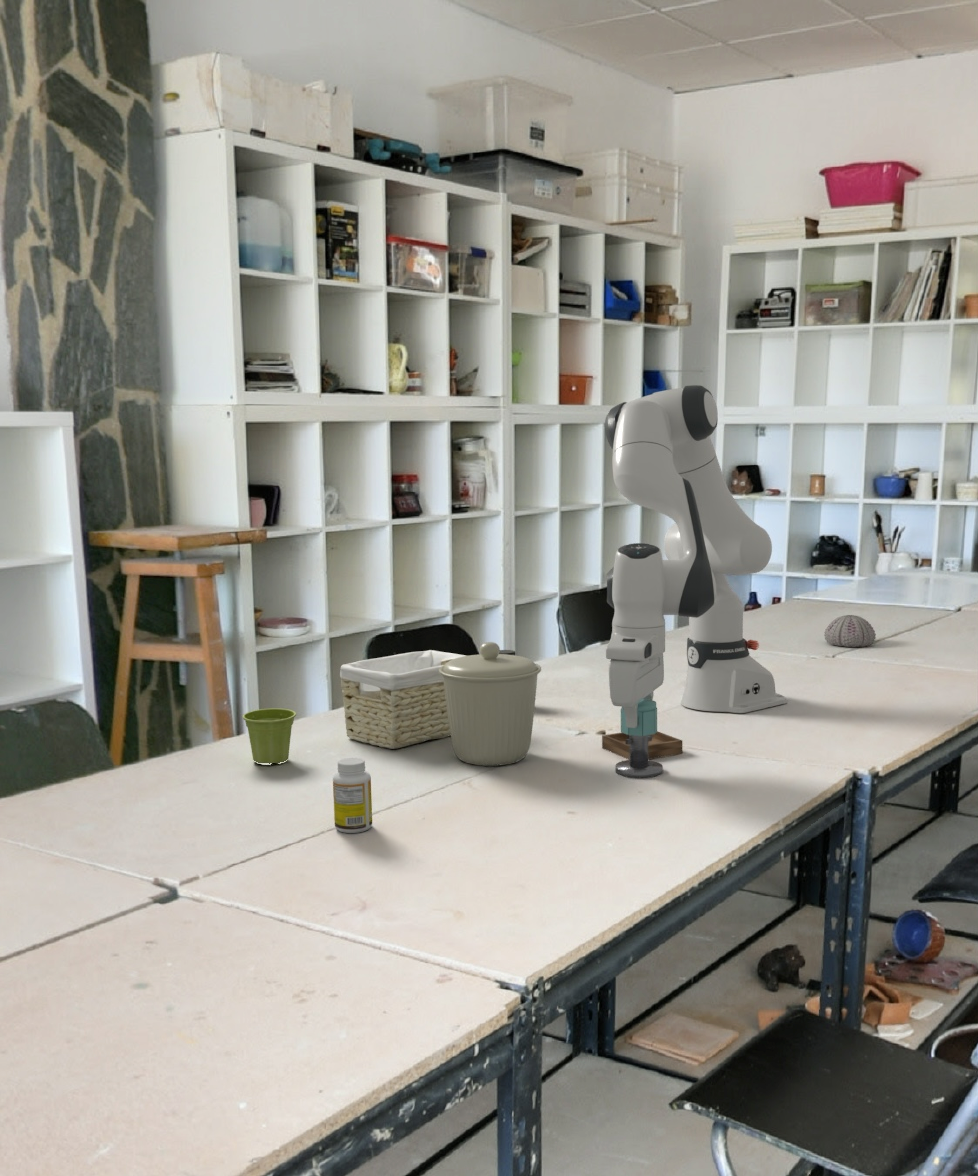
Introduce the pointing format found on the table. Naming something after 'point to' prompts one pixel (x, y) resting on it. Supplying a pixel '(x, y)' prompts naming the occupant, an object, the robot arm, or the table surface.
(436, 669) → the storage basket
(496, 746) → the canister
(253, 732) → the plant pot
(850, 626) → the sea urchin shell
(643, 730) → the cap
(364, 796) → the supplement bottle
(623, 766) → the post
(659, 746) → the walnut tray
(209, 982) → the table surface
